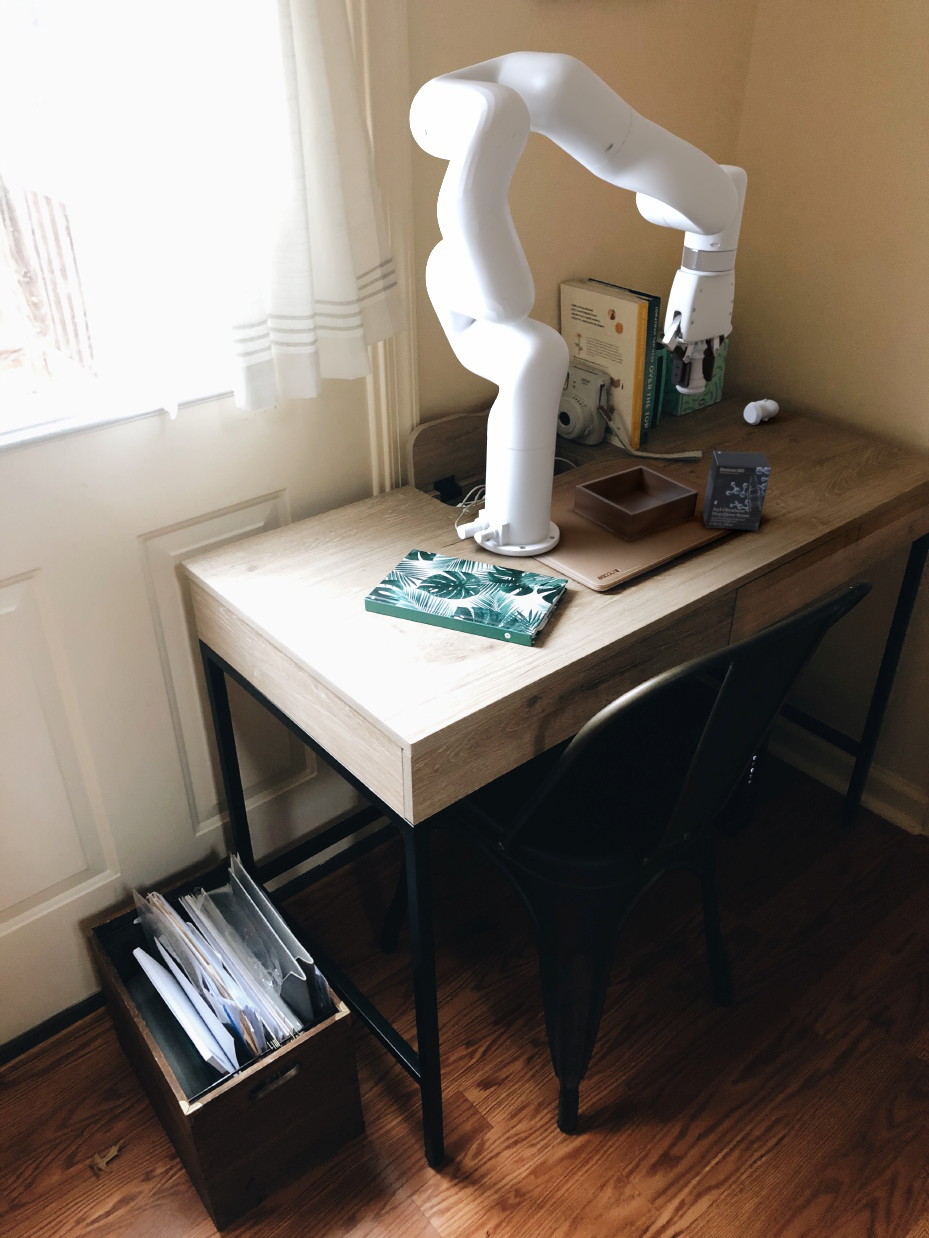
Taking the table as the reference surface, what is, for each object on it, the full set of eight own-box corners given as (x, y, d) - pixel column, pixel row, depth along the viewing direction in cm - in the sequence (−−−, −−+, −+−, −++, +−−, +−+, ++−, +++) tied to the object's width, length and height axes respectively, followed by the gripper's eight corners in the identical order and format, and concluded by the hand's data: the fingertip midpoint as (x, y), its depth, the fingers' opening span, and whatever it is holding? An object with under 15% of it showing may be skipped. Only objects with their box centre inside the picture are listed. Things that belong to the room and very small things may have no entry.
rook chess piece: (688, 383, 152) (695, 333, 148) (710, 391, 149) (718, 340, 145) (669, 389, 149) (676, 338, 145) (692, 397, 147) (699, 345, 142)
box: (705, 529, 145) (717, 464, 139) (701, 512, 149) (712, 449, 144) (758, 532, 144) (772, 467, 138) (752, 515, 149) (765, 451, 143)
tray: (628, 541, 141) (631, 515, 139) (573, 510, 149) (575, 485, 147) (694, 517, 148) (698, 491, 146) (638, 489, 156) (641, 465, 154)
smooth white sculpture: (761, 418, 188) (783, 418, 184) (734, 426, 184) (757, 426, 180) (760, 396, 187) (782, 395, 183) (733, 403, 183) (755, 403, 179)
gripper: (727, 248, 145) (710, 366, 155) (648, 262, 137) (634, 386, 147) (767, 257, 140) (746, 379, 150) (687, 272, 132) (670, 400, 142)
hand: (691, 381), depth 148 cm, fingers closed on rook chess piece, 4 cm apart
